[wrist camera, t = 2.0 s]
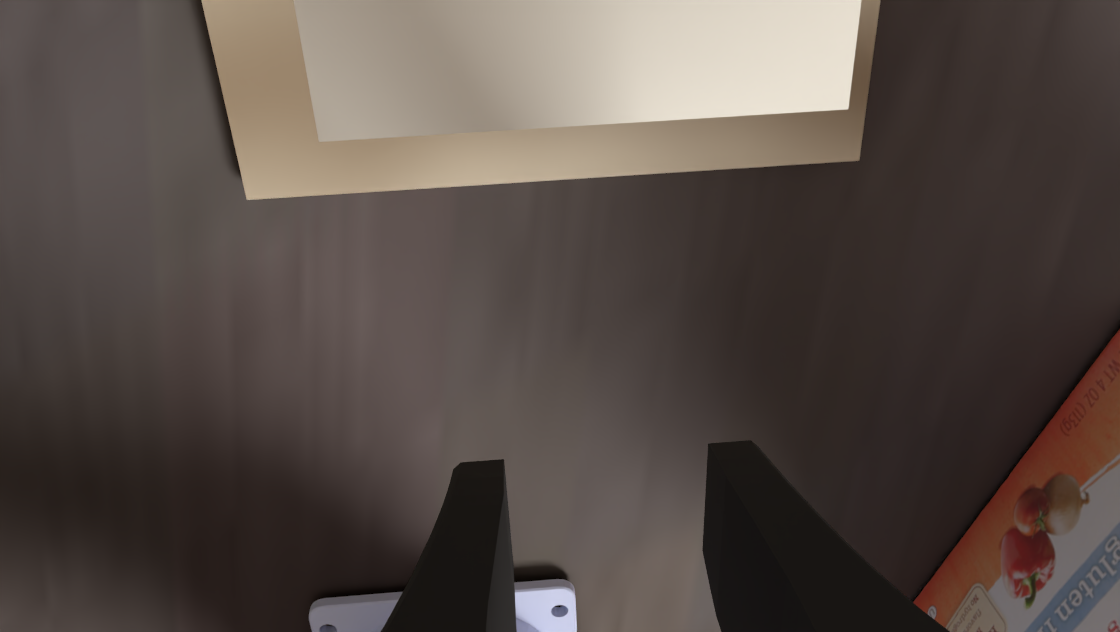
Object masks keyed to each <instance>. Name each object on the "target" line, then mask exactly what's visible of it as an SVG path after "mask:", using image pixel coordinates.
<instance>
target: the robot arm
mask: <svg viewBox="0 0 1120 632" xmlns="http://www.w3.org/2000/svg"><path fill="white" fill-rule="evenodd" d="M703 555H704V560H705V564H706V569H707V574H708V579H709V584H710V589H711V594H712V598H713V603H714V607H715V612H716V616H717V619H718V622H719V625H720V629H721V632H950V631H948V630H947V629H946V628H945V627H943V626H942V625H941V624H939V623H938V622H937V621H936V620H934V619H933V618H932V617H930V616H929V615H928V614H926V613H925V612H924V611H923V610H921V609H920V608H919V607H918V606H916V605H915V604H914V603H913V602H912V601H910V600H909V599H908V598H907V597H906V596H905V595H903V594H902V593H901V592H900V591H899V590H898V589H896V588H895V587H894V586H893V585H892V584H891V583H890V582H888V581H887V580H886V579H885V578H884V577H883V576H882V575H881V574H880V573H878V572H877V571H876V570H875V569H874V568H873V567H872V566H871V565H870V564H869V563H867V562H866V561H865V560H864V559H863V558H862V557H861V556H860V555H859V554H858V553H857V552H856V551H855V550H854V549H853V548H852V547H851V546H850V545H849V544H848V543H847V542H846V541H845V540H844V539H843V538H842V537H841V536H840V535H839V534H838V533H837V532H836V531H835V530H834V529H833V528H832V527H831V526H830V525H829V524H828V523H827V522H826V521H825V520H824V519H823V518H822V517H821V516H820V515H819V514H818V513H817V512H816V511H815V510H814V509H813V508H812V507H811V506H810V505H809V504H808V502H807V501H806V500H805V499H804V498H803V497H802V496H801V495H800V494H799V493H798V492H797V490H796V489H795V488H794V487H793V486H792V485H791V484H790V483H789V482H788V480H787V479H786V478H785V477H784V476H783V475H782V474H781V473H780V471H779V470H778V469H777V468H776V467H775V466H774V465H773V463H772V462H771V461H770V460H769V459H768V458H767V456H766V455H765V454H764V453H763V452H762V451H761V449H760V448H759V447H758V446H757V445H756V444H755V443H753V442H752V441H751V440H750V441H737V442H724V443H711V444H708V459H707V478H706V497H705V516H704V534H703ZM557 605H564V606H562V607H554V606H557ZM309 622H310V626H311V630H312V632H577V623H576V600H575V589H574V586H573V584H571V583H570V582H569V581H567V580H564V579H551V580H539V581H526V582H514V568H513V556H512V544H511V533H510V522H509V511H508V500H507V489H506V477H505V466H504V459H502V460H489V461H476V462H463V463H460V464H459V465H458V466H457V467H455V468H454V469H453V473H452V477H451V481H450V484H449V488H448V491H447V494H446V497H445V500H444V503H443V506H442V508H441V511H440V513H439V516H438V518H437V521H436V523H435V526H434V528H433V531H432V533H431V535H430V538H429V540H428V542H427V544H426V546H425V548H424V550H423V553H422V555H421V557H420V559H419V561H418V563H417V565H416V568H415V570H414V572H413V574H412V576H411V578H410V580H409V582H408V584H407V585H406V587H405V589H404V591H403V592H392V593H380V594H368V595H356V596H344V597H331V598H323V599H318V600H317V601H315V602H313V604H312V605H311V607H310V612H309ZM326 624H329V625H333V626H326Z"/></svg>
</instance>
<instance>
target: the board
mask: <svg viewBox="0 0 1120 632" xmlns="http://www.w3.org/2000/svg"><path fill="white" fill-rule="evenodd" d="M201 1H202V5H203V10H204V14H205V18H206V23H207V27H208V31H209V36H210V40H211V45H212V49H213V53H214V58H215V62H216V67H217V71H218V75H219V80H220V84H221V88H222V93H223V97H224V102H225V106H226V110H227V115H228V119H229V124H230V128H231V132H232V137H233V141H234V145H235V150H236V154H237V159H238V163H239V167H240V172H241V176H242V180H243V185H244V189H245V194H246V198H247V200H254V199H269V198H285V197H300V196H316V195H332V194H347V193H363V192H379V191H394V190H410V189H425V188H441V187H457V186H472V185H488V184H503V183H519V182H535V181H550V180H566V179H582V178H597V177H613V176H628V175H644V174H660V173H675V172H691V171H706V170H722V169H738V168H753V167H769V166H784V165H800V164H816V163H831V162H847V161H859V159H860V151H861V144H862V136H863V129H864V121H865V113H866V106H867V98H868V91H869V83H870V75H871V68H872V60H873V53H874V45H875V38H876V30H877V22H878V15H879V7H880V0H862V1H861V9H860V17H859V25H858V34H857V42H856V50H855V58H854V66H853V75H852V83H851V91H850V99H849V107H848V109H846V110H829V111H813V112H797V113H781V114H764V115H748V116H732V117H716V118H700V119H683V120H667V121H651V122H635V123H619V124H602V125H586V126H570V127H554V128H537V129H521V130H505V131H489V132H473V133H456V134H440V135H424V136H408V137H392V138H375V139H359V140H343V141H327V142H319V140H318V134H317V129H316V123H315V117H314V112H313V106H312V101H311V95H310V90H309V84H308V78H307V73H306V67H305V62H304V56H303V51H302V45H301V39H300V34H299V28H298V23H297V17H296V12H295V6H294V0H201Z"/></svg>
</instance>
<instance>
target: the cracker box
mask: <svg viewBox="0 0 1120 632" xmlns="http://www.w3.org/2000/svg"><path fill="white" fill-rule="evenodd" d="M913 603H914V604H915V605H916V606H918V607H919V608H920V609H921V610H923V611H924V612H925V613H926V614H928V615H929V616H930V617H932V618H933V619H934V620H936V621H937V622H938V623H939V624H941V625H942V626H943V627H945V628H946V629H947V630H948V631H950V632H1120V329H1119V330H1118V332H1117V333H1116V334H1115V335H1114V337H1113V338H1112V339H1111V341H1110V342H1109V343H1108V345H1107V346H1106V347H1105V349H1104V350H1103V351H1102V353H1101V354H1100V355H1099V357H1098V358H1097V359H1096V361H1095V362H1094V363H1093V365H1092V366H1091V367H1090V369H1089V370H1088V371H1087V373H1086V374H1085V375H1084V377H1083V378H1082V379H1081V381H1080V382H1079V383H1078V385H1077V386H1076V387H1075V389H1074V390H1073V391H1072V393H1071V394H1070V395H1069V397H1068V398H1067V399H1066V401H1065V402H1064V403H1063V405H1062V406H1061V407H1060V409H1059V410H1058V411H1057V413H1056V414H1055V415H1054V417H1053V418H1052V419H1051V420H1050V422H1049V423H1048V424H1047V426H1046V427H1045V428H1044V430H1043V431H1042V432H1041V434H1040V435H1039V436H1038V438H1037V439H1036V440H1035V442H1034V443H1033V445H1032V446H1031V447H1030V448H1029V450H1028V451H1027V452H1026V453H1025V455H1024V456H1023V457H1022V459H1021V460H1020V461H1019V463H1018V464H1017V465H1016V467H1015V468H1014V469H1013V471H1012V472H1011V473H1010V475H1009V476H1008V478H1007V479H1006V480H1005V482H1004V483H1003V484H1002V485H1001V486H1000V488H999V489H998V491H997V492H996V493H995V495H994V496H993V498H992V499H991V500H990V502H989V503H988V504H987V505H986V506H985V508H984V509H983V510H982V511H981V513H980V514H979V516H978V517H977V518H976V520H975V521H974V522H973V524H972V525H971V527H970V528H969V529H968V531H967V532H966V533H965V535H964V536H963V537H962V538H961V540H960V541H959V542H958V544H957V545H956V546H955V548H954V549H953V550H952V552H951V553H950V554H949V555H948V557H947V558H946V559H945V561H944V562H943V564H942V565H941V566H940V568H939V569H938V570H937V572H936V573H935V575H934V576H933V577H932V578H931V580H930V581H929V582H928V584H927V585H926V586H925V587H924V589H923V590H922V591H921V593H920V594H919V595H918V597H917V598H916V599H915V600H914V602H913Z"/></svg>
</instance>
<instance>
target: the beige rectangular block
mask: <svg viewBox="0 0 1120 632" xmlns="http://www.w3.org/2000/svg"><path fill="white" fill-rule="evenodd" d="M861 1H862V0H294V6H295V12H296V17H297V23H298V28H299V34H300V39H301V45H302V51H303V56H304V62H305V67H306V73H307V78H308V84H309V90H310V95H311V101H312V106H313V112H314V117H315V123H316V129H317V134H318V140H319V142H327V141H343V140H359V139H375V138H392V137H408V136H424V135H440V134H456V133H473V132H489V131H505V130H521V129H537V128H554V127H570V126H586V125H602V124H619V123H635V122H651V121H667V120H683V119H700V118H716V117H732V116H748V115H764V114H781V113H797V112H813V111H829V110H846V109H848V107H849V99H850V91H851V83H852V75H853V66H854V58H855V50H856V42H857V34H858V25H859V17H860V9H861Z"/></svg>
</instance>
